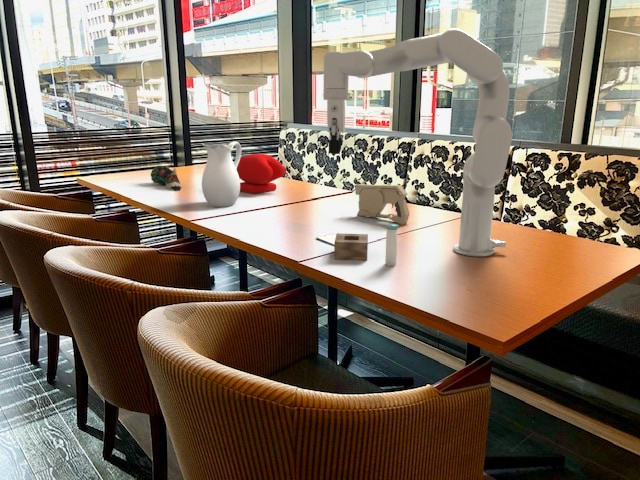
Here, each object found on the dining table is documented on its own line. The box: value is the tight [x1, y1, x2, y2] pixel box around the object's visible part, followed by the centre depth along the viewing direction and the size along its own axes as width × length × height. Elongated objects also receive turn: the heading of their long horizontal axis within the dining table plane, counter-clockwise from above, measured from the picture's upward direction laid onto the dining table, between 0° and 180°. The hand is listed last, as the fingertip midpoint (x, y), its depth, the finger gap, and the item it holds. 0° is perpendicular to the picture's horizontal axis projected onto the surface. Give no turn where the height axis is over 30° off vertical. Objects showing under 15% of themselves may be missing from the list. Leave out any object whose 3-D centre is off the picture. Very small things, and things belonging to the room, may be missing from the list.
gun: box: [354, 183, 410, 226], centre depth 206 cm, size 24×3×15 cm, turn 47°
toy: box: [236, 153, 286, 195], centre depth 265 cm, size 16×20×30 cm
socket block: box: [333, 233, 369, 261], centre depth 161 cm, size 10×10×6 cm
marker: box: [384, 223, 399, 267], centre depth 152 cm, size 3×3×12 cm
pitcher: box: [201, 141, 243, 208], centre depth 234 cm, size 24×17×28 cm
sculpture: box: [150, 165, 182, 192], centre depth 277 cm, size 13×13×30 cm
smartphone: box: [316, 233, 336, 247], centre depth 176 cm, size 8×1×16 cm
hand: (335, 151), depth 162 cm, fingers open, 9 cm apart
